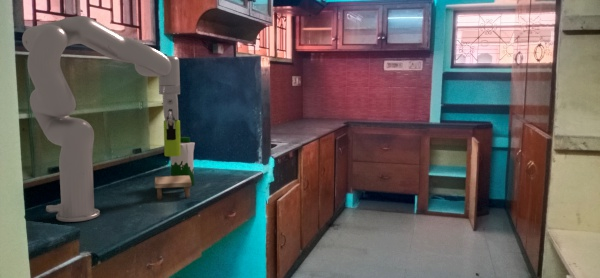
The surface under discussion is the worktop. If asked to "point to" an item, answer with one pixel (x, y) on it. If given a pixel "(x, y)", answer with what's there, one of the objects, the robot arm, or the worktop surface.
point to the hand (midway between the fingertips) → (171, 138)
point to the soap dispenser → (172, 141)
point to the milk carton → (184, 160)
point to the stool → (173, 184)
